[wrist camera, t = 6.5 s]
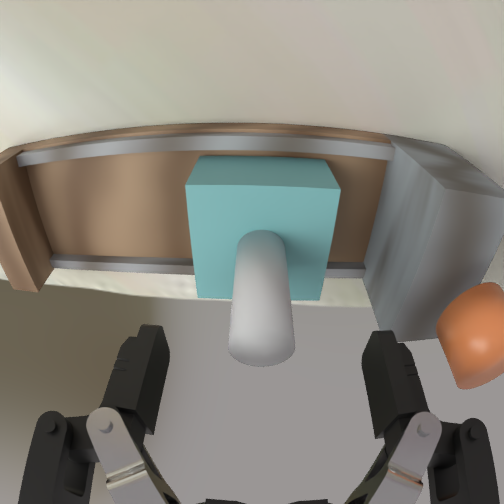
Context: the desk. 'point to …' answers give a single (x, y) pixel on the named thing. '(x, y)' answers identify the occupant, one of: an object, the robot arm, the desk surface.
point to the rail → (254, 144)
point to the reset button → (474, 335)
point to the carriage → (261, 244)
